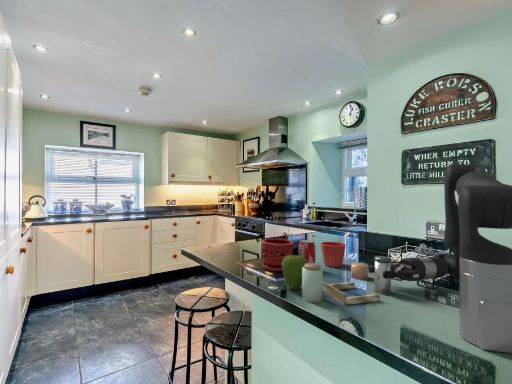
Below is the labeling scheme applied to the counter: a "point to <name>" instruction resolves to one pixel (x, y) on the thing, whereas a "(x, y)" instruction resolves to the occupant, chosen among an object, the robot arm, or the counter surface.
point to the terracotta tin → (359, 271)
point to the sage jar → (312, 282)
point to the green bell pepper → (293, 270)
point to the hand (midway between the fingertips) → (376, 272)
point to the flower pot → (333, 253)
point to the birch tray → (341, 297)
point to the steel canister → (379, 282)
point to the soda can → (307, 250)
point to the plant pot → (275, 253)
